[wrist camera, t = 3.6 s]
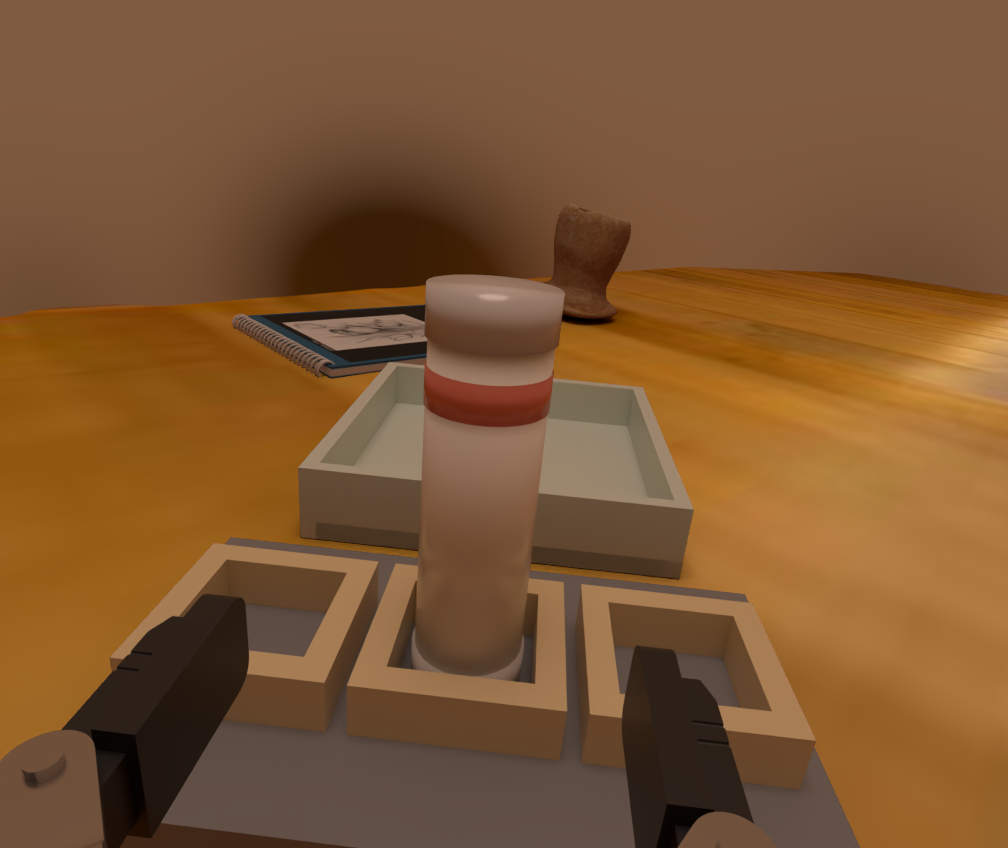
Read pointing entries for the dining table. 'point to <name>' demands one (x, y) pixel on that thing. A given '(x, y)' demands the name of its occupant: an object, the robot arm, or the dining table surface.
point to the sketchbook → (343, 338)
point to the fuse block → (466, 714)
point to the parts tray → (562, 491)
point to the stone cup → (587, 259)
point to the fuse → (481, 468)
